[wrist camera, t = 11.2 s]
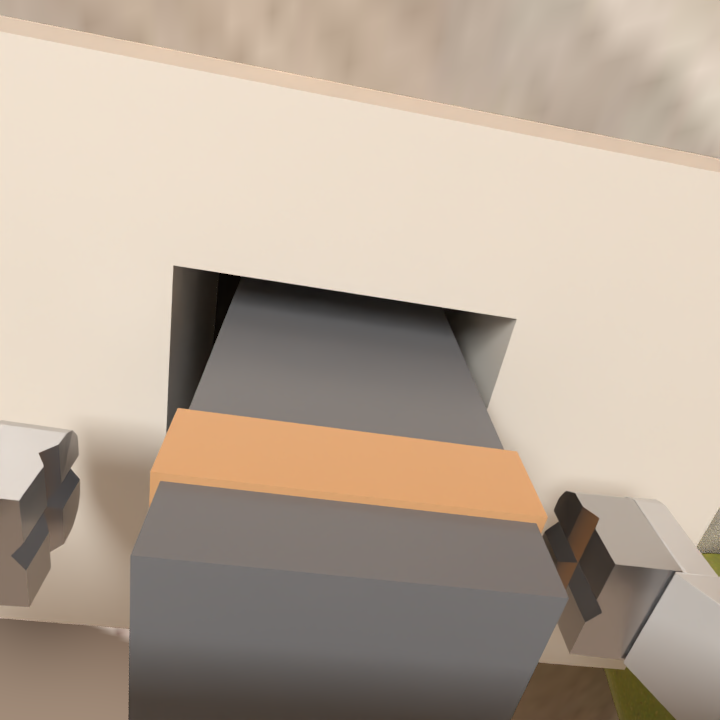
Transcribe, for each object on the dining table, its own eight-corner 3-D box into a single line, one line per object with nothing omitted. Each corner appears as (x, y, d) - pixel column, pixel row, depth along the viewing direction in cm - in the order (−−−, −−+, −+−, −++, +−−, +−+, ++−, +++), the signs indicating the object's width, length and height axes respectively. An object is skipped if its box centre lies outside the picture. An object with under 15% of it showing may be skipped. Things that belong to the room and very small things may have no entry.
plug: (427, 259, 14) (582, 591, 6) (392, 405, 16) (465, 829, 7) (254, 231, 14) (118, 545, 5) (237, 385, 16) (118, 812, 7)
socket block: (710, 156, 14) (894, 207, 9) (553, 521, 18) (624, 669, 14) (-35, 8, 12) (-260, -20, 7) (10, 459, 17) (-108, 609, 12)
